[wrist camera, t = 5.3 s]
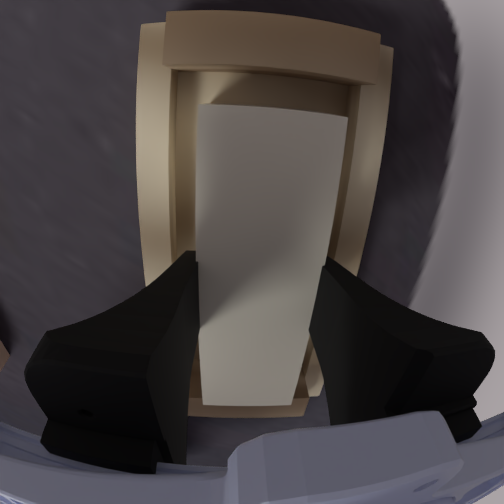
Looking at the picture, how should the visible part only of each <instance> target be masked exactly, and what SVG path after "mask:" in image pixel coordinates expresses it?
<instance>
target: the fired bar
mask: <svg viewBox="0 0 504 504" xmlns="http://www.w3.org/2000/svg"><path fill="white" fill-rule="evenodd" d="M9 357H10V355H9V353H8V352H7V350H6V348H5V347H4V345H3V343H2V342H1V340H0V372H1V370H2V368H3V367H4V365H5V363H6V362H7V360H8V358H9Z"/></svg>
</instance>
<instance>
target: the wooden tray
mask: <svg viewBox="0 0 504 504" xmlns="http://www.w3.org/2000/svg"><path fill="white" fill-rule="evenodd" d="M380 41H381V34H378V33H374V32H371V31H367V30H363V29H359V28H355V27H351V26H346V25H342V24H337V23H332V22H327V21H322V20H316V19H311V18H304V17H298V16H290V15H282V14H273V13H263V12H249V11H229V10H190V11H169V12H167V14H166V22H161V23H149V24H141V32H140V43H139V57H138V73H137V98H136V164H137V190H138V207H139V222H140V234H141V245H142V256H143V265H144V274H145V282H146V287H147V286H148V285H149V284H150V283H152V282H153V281H154V280H155V279H156V278H158V277H159V276H160V275H161V274H162V273H163V272H164V271H165V270H166V269H167V268H169V267H170V266H171V265H172V264H173V263H174V262H175V261H176V260H177V259H178V258H179V257H180V256H181V255H182V254H183V253H184V252H185V251H186V250H192V251H196V227H195V204H196V146H197V118H198V104H206V103H226V104H247V105H262V106H274V107H285V108H295V109H304V110H312V111H318V112H323V113H329V114H334V115H339V116H344V117H348V123H347V131H346V139H345V147H344V154H343V162H342V169H341V175H340V182H339V189H338V195H337V201H336V207H335V213H334V219H333V225H332V230H331V236H330V241H329V246H328V252H327V256H328V257H330V258H332V259H333V260H335V261H336V262H337V263H339V264H340V265H342V266H343V267H344V268H346V269H347V270H348V271H350V272H351V273H352V274H354V275H355V276H356V277H357V273H358V269H359V265H360V261H361V257H362V253H363V249H364V244H365V240H366V236H367V231H368V227H369V222H370V217H371V213H372V208H373V203H374V198H375V192H376V187H377V182H378V176H379V170H380V164H381V158H382V152H383V145H384V138H385V131H386V124H387V116H388V107H389V98H390V89H391V78H392V65H393V50H394V48H391V47H388V46H385V45H381V44H380ZM323 383H324V379H323V375H322V371H321V368H320V365H319V361H318V358H317V355H316V352H315V349H314V346H313V343H312V340H311V337H310V335H309V339H308V343H307V347H306V351H305V355H304V359H303V363H302V367H301V371H300V374H299V378H298V382H297V385H296V389H295V393H294V396H293V400H292V403H291V405H278V406H220V405H203V399H202V386H201V371H200V355H199V337H198V341H197V346H196V351H195V355H194V360H193V365H192V371H191V378H190V390H189V404H188V416H197V417H220V418H272V417H295V416H303V415H304V412H305V409H306V406H307V403H308V400H309V397H310V396H319V394H320V392H321V389H322V386H323Z"/></svg>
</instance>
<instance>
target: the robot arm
mask: <svg viewBox="0 0 504 504" xmlns="http://www.w3.org/2000/svg"><path fill="white" fill-rule="evenodd" d="M199 331H200V313H199V278H198V262H196V251H192V250H186V251H185V252H184V253H183V254H182V255H181V256H180V257H179V258H178V259H177V260H176V261H175V262H174V263H173V264H172V265H171V266H170V267H169V268H167V269H166V270H165V271H164V272H163V273H162V274H161V275H160V276H159V277H158V278H156V279H155V280H154V281H153V282H152V283H150V284H149V285H148V286H147V287H145V288H144V289H143V290H141V291H140V292H138V293H137V294H135V295H134V296H132V297H131V298H129V299H127V300H126V301H124V302H122V303H120V304H118V305H116V306H114V307H113V308H111V309H109V310H107V311H105V312H103V313H100V314H98V315H96V316H93V317H91V318H88V319H86V320H83V321H80V322H78V323H75V324H71V325H68V326H64V327H61V328H57V329H54V330H50V331H46V333H45V334H44V336H43V338H42V339H41V341H40V342H39V344H38V346H37V348H36V349H35V351H34V353H33V354H32V356H31V358H30V360H29V362H28V363H27V365H26V368H25V371H24V375H25V381H26V383H27V385H28V388H29V390H30V392H31V393H32V395H33V397H34V398H35V400H36V401H37V403H38V404H39V406H40V407H41V409H42V410H43V412H44V413H45V415H46V416H47V418H48V421H47V423H46V426H45V429H44V431H43V434H42V437H41V436H38V435H35V434H32V433H29V432H26V431H23V430H20V429H18V428H15V427H12V426H10V425H7V424H5V423H2V422H0V504H472V503H474V502H476V501H478V500H480V499H481V498H483V497H485V496H487V495H488V494H490V493H491V492H493V491H495V490H496V489H498V488H500V487H501V486H503V485H504V412H503V413H501V414H499V415H496V416H494V417H491V418H489V419H487V420H484V421H482V422H480V421H479V419H478V417H477V415H476V413H475V412H474V410H473V408H474V407H475V406H476V405H477V401H476V400H475V398H474V396H473V394H474V393H475V391H476V390H477V389H478V387H479V386H480V384H481V383H482V382H483V380H484V378H485V377H486V376H487V374H488V372H489V371H490V369H491V367H492V365H493V362H494V359H495V350H494V348H493V346H492V345H491V344H490V342H489V341H488V340H487V338H486V337H485V336H484V335H483V334H482V333H481V332H478V331H474V330H470V329H465V328H461V327H457V326H453V325H450V324H447V323H444V322H441V321H438V320H435V319H432V318H429V317H427V316H425V315H422V314H420V313H418V312H415V311H413V310H411V309H409V308H407V307H405V306H403V305H401V304H399V303H397V302H395V301H394V300H392V299H390V298H388V297H386V296H385V295H383V294H381V293H380V292H378V291H377V290H375V289H374V288H372V287H371V286H369V285H368V284H366V283H365V282H363V281H362V280H361V279H359V278H358V277H356V276H355V275H354V274H352V273H351V272H350V271H348V270H347V269H346V268H344V267H343V266H342V265H340V264H339V263H337V262H336V261H335V260H333V259H332V258H330V257H328V256H327V257H326V262H325V266H322V269H321V274H320V279H319V284H318V289H317V294H316V298H315V303H314V308H313V312H312V317H311V321H310V325H309V333H310V337H311V340H312V343H313V346H314V349H315V352H316V355H317V358H318V361H319V365H320V368H321V371H322V375H323V379H324V385H325V390H326V396H327V402H328V409H329V416H330V423H331V426H324V427H313V428H300V429H291V430H286V431H280V432H274V433H267V434H263V435H261V436H259V437H256V438H254V439H252V440H249V441H247V442H244V443H242V444H241V445H239V446H238V447H237V448H236V449H235V450H234V452H233V453H232V454H231V456H230V457H229V458H228V467H211V466H193V465H186V447H187V422H188V404H189V390H190V378H191V371H192V365H193V360H194V355H195V351H196V346H197V341H198V336H199Z"/></svg>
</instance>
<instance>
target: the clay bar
mask: <svg viewBox="0 0 504 504" xmlns="http://www.w3.org/2000/svg"><path fill="white" fill-rule="evenodd" d="M347 123H348V117H344V116H339V115H334V114H329V113H323V112H318V111H312V110H304V109H295V108H285V107H274V106H262V105H247V104H226V103H206V104H198V118H197V146H196V204H195V227H196V262H198V278H199V313H200V331H199V336H198V337H199V355H200V371H201V386H202V399H203V405H220V406H278V405H291V403H292V400H293V396H294V393H295V389H296V385H297V382H298V378H299V374H300V371H301V367H302V363H303V359H304V355H305V351H306V347H307V343H308V339H309V335H310V333H309V325H310V321H311V317H312V312H313V308H314V303H315V298H316V294H317V289H318V284H319V279H320V274H321V269H322V266H325V262H326V257H327V252H328V246H329V241H330V236H331V230H332V225H333V219H334V213H335V207H336V201H337V195H338V189H339V182H340V175H341V169H342V162H343V154H344V147H345V139H346V131H347Z"/></svg>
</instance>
